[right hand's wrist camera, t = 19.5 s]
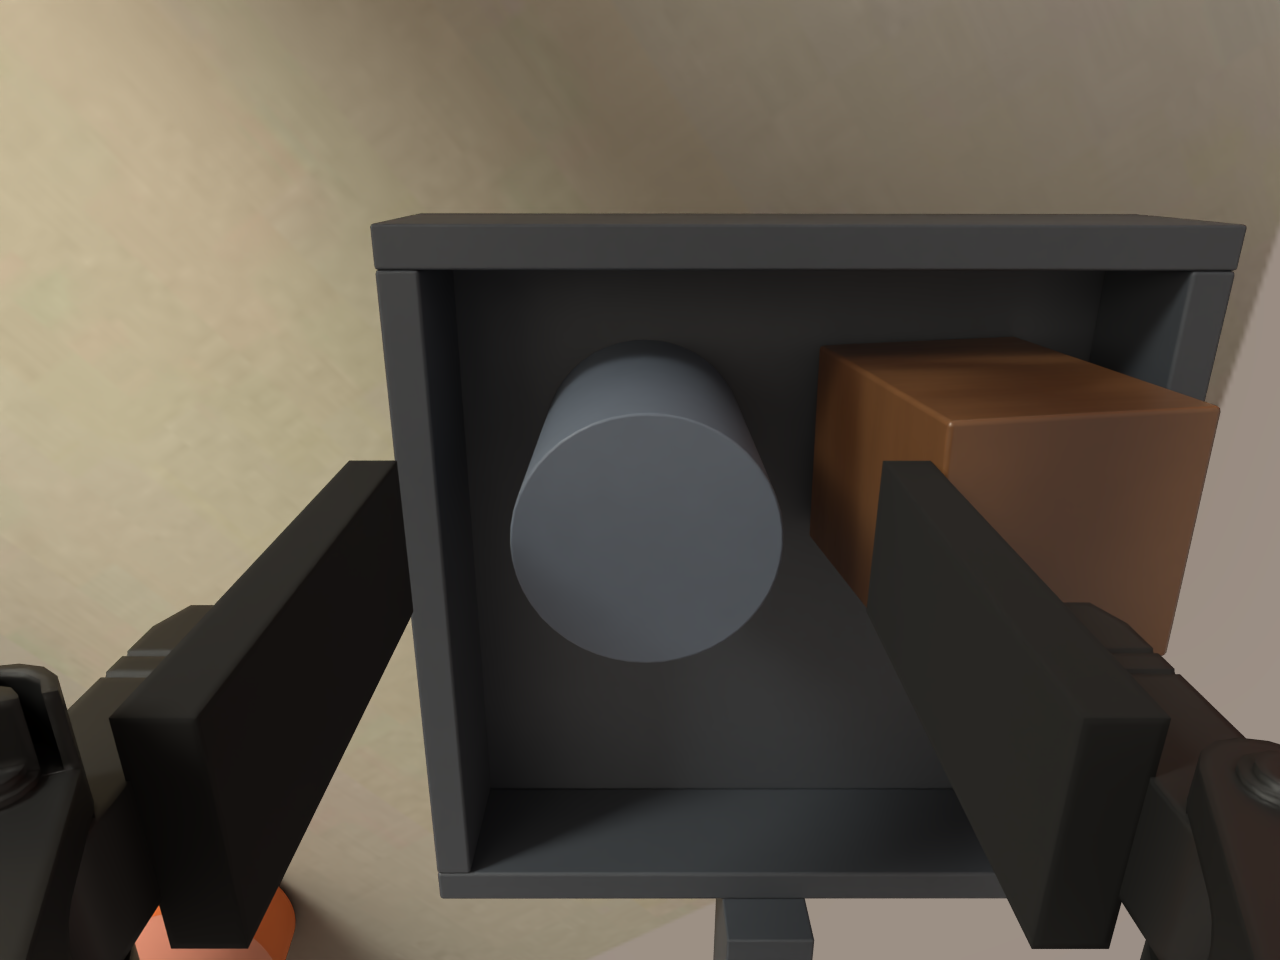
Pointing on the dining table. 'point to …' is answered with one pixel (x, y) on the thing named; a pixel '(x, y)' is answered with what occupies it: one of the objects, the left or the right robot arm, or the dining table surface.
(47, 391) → the dining table surface
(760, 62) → the dining table surface
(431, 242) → the tray
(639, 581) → the grey cylinder
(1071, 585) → the walnut block
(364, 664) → the right robot arm
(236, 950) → the cup with straw
